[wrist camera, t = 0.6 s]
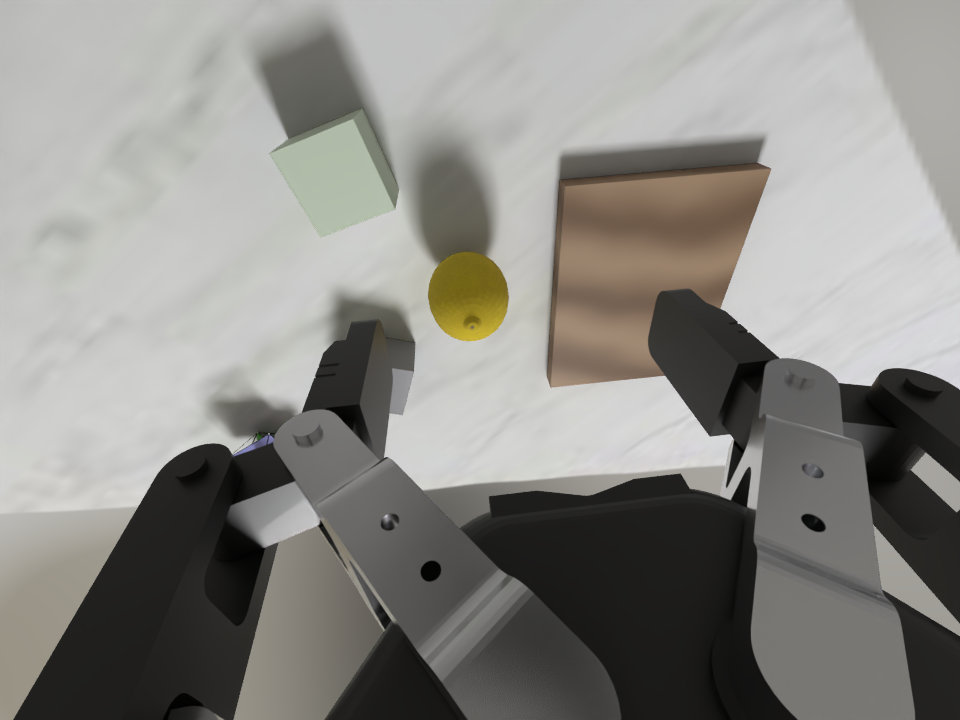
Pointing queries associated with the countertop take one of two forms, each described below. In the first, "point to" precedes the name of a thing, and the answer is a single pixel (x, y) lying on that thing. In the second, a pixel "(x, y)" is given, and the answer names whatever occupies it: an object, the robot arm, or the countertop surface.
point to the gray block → (400, 372)
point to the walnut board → (640, 260)
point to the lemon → (468, 296)
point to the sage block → (338, 173)
